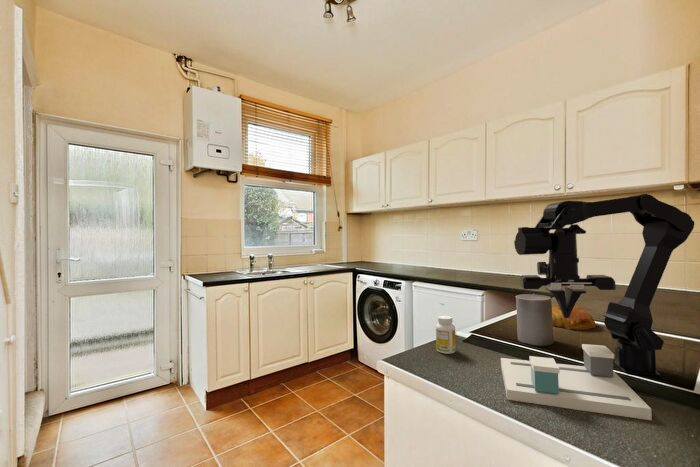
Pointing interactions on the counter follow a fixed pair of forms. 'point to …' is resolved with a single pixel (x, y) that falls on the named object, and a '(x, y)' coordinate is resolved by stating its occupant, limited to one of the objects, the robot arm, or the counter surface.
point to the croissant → (573, 319)
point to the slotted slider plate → (575, 390)
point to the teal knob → (544, 374)
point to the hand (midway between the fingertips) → (566, 317)
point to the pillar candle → (534, 319)
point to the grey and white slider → (598, 360)
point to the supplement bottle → (445, 335)
